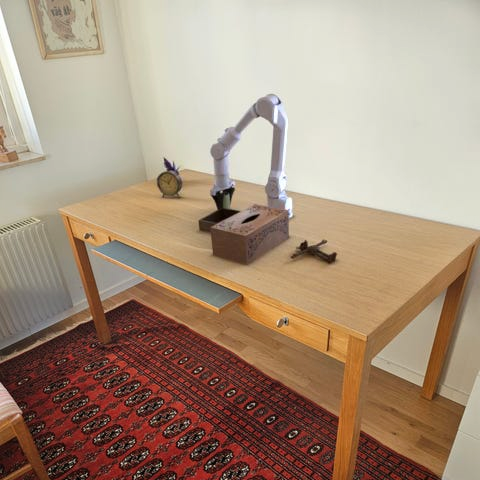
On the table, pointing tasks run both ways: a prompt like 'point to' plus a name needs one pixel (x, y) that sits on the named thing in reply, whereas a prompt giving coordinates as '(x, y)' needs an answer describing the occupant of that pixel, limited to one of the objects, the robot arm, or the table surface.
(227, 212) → the basket
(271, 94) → the robot arm
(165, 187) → the alarm clock
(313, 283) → the table surface
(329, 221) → the table surface
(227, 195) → the pen cup
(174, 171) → the creature
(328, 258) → the brown figurine
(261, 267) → the table surface
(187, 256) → the table surface
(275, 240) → the tissue box cover
